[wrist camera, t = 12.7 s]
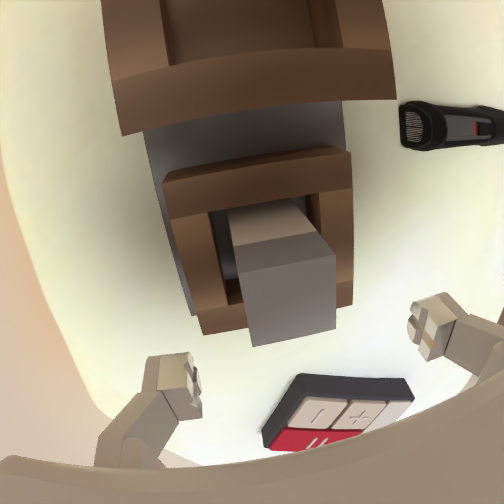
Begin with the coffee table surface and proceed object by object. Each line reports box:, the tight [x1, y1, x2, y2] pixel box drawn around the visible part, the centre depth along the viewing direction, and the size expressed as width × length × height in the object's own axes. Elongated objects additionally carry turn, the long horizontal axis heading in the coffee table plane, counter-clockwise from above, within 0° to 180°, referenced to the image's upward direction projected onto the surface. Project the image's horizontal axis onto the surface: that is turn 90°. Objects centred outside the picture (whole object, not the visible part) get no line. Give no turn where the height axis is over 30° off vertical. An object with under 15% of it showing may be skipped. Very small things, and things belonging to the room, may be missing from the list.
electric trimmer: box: [399, 101, 504, 151], centre depth 19 cm, size 4×16×3 cm, turn 99°
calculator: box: [262, 373, 415, 452], centre depth 32 cm, size 11×4×15 cm
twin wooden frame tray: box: [101, 0, 397, 336], centre depth 15 cm, size 24×12×10 cm, turn 8°
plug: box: [227, 198, 336, 347], centre depth 17 cm, size 4×4×8 cm
